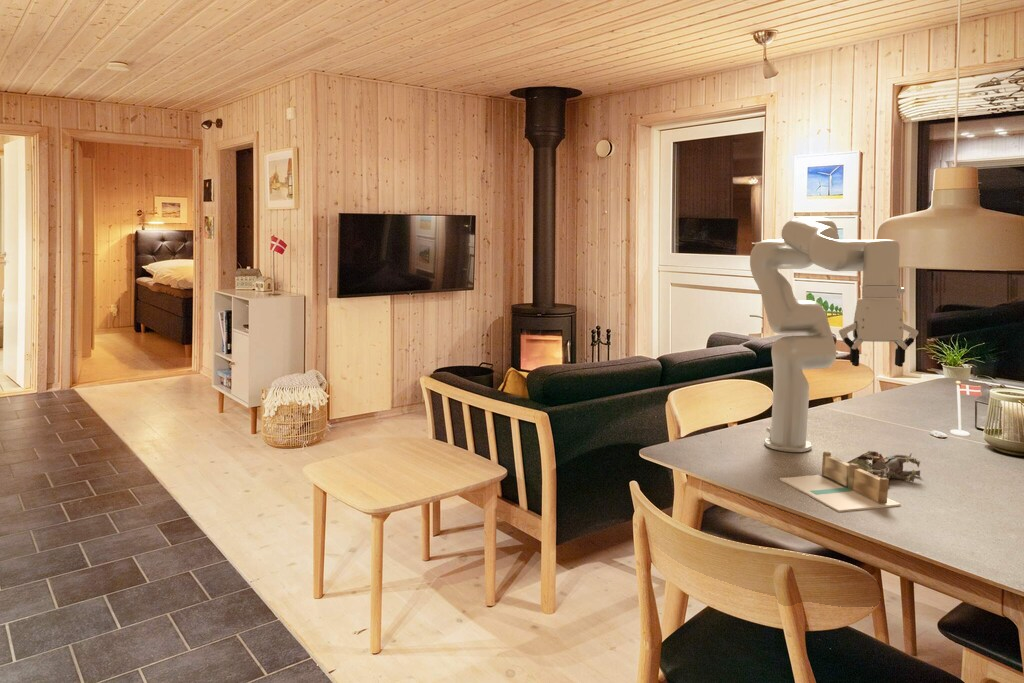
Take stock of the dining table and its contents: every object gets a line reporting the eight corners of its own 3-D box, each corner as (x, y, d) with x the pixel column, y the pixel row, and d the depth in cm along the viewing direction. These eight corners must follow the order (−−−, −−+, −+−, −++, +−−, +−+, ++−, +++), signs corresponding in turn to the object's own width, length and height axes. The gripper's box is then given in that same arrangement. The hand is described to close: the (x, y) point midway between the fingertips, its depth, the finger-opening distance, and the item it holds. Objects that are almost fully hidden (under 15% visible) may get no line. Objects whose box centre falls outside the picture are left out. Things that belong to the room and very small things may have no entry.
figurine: (908, 471, 177) (833, 458, 188) (906, 496, 178) (832, 481, 189) (927, 447, 192) (856, 436, 203) (925, 470, 193) (856, 458, 204)
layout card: (779, 479, 186) (780, 478, 186) (836, 474, 190) (836, 473, 190) (838, 512, 165) (838, 510, 165) (900, 505, 169) (900, 503, 169)
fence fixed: (819, 475, 189) (821, 452, 188) (826, 474, 189) (828, 451, 188) (851, 490, 177) (853, 466, 176) (858, 490, 178) (860, 465, 177)
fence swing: (852, 489, 177) (854, 467, 176) (859, 489, 177) (860, 466, 177) (881, 504, 168) (883, 480, 167) (888, 503, 168) (890, 480, 167)
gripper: (913, 292, 179) (910, 364, 180) (836, 292, 181) (833, 363, 183) (925, 293, 171) (922, 368, 173) (845, 293, 174) (842, 367, 176)
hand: (876, 365), depth 178 cm, fingers open, 9 cm apart
